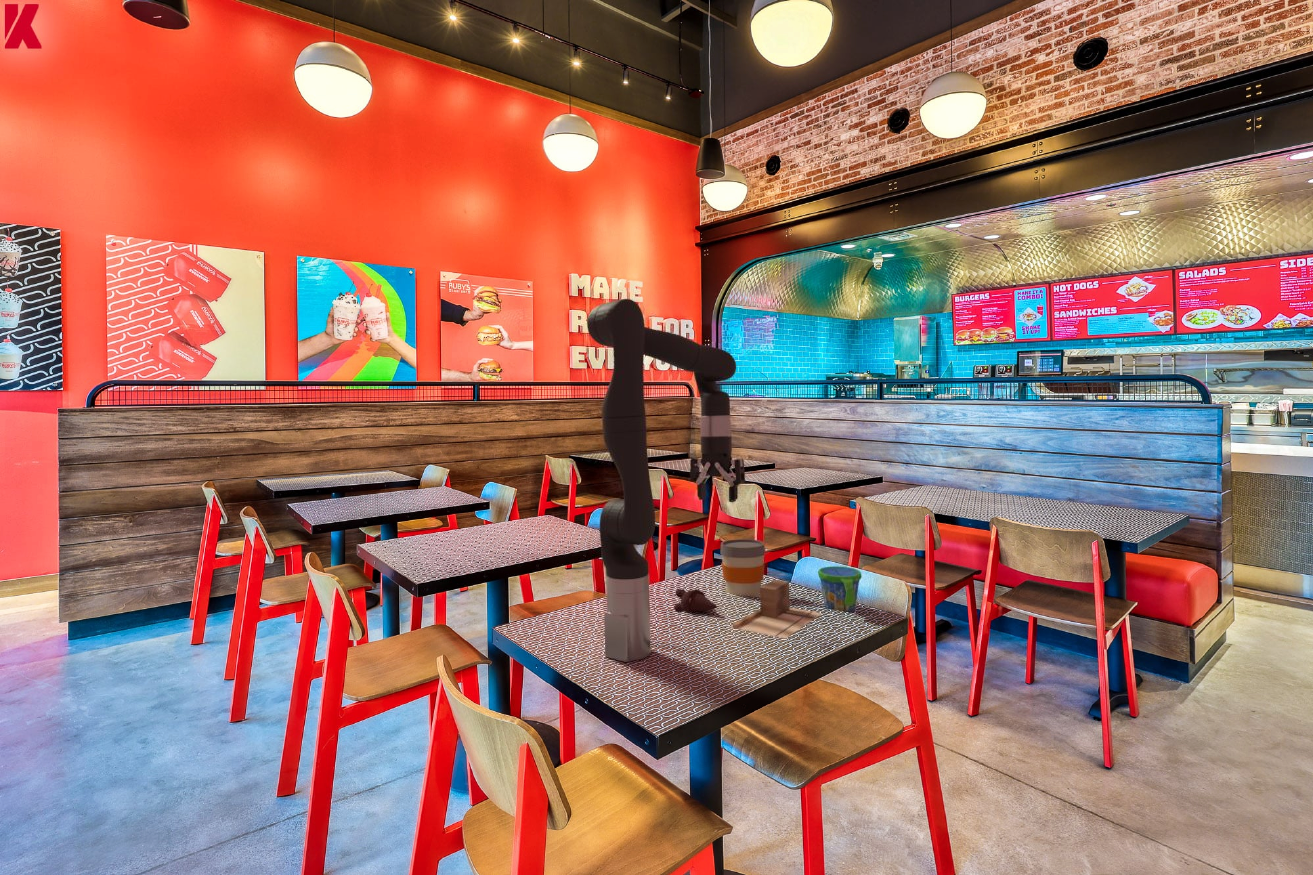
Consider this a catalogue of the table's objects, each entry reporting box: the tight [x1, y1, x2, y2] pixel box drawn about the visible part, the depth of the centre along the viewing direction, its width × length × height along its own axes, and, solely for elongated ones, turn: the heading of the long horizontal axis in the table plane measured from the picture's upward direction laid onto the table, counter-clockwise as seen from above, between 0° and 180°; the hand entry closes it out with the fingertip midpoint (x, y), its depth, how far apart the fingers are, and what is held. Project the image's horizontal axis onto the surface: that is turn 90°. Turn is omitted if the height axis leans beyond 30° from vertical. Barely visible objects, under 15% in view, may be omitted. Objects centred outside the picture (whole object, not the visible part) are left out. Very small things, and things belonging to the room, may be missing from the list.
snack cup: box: [817, 565, 862, 614], centre depth 163 cm, size 16×10×10 cm
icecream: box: [673, 588, 718, 614], centre depth 161 cm, size 7×7×15 cm
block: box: [759, 579, 791, 618], centre depth 158 cm, size 9×4×7 cm, turn 143°
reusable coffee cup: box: [720, 538, 766, 598], centre depth 177 cm, size 13×13×15 cm
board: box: [730, 607, 823, 640], centre depth 152 cm, size 21×14×2 cm, turn 143°
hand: (717, 500), depth 154 cm, fingers open, 8 cm apart
